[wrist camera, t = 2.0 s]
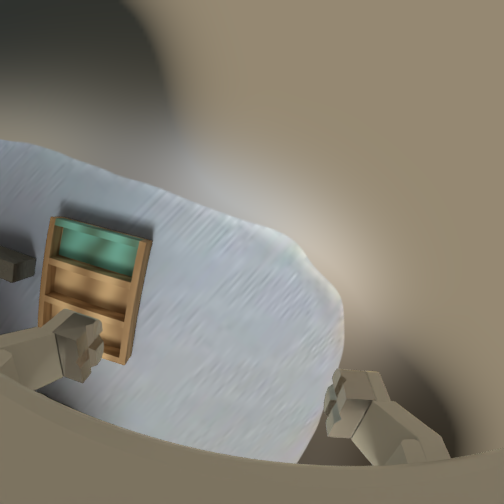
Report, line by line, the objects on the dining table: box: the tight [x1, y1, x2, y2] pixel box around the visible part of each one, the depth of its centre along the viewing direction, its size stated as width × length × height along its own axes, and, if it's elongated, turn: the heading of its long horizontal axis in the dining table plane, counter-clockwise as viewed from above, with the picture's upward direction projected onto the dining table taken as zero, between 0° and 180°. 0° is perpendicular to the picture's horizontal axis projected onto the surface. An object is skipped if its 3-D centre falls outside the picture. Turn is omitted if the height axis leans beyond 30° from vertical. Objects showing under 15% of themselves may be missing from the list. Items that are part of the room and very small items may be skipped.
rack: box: [38, 217, 152, 365], centre depth 44 cm, size 16×19×4 cm
